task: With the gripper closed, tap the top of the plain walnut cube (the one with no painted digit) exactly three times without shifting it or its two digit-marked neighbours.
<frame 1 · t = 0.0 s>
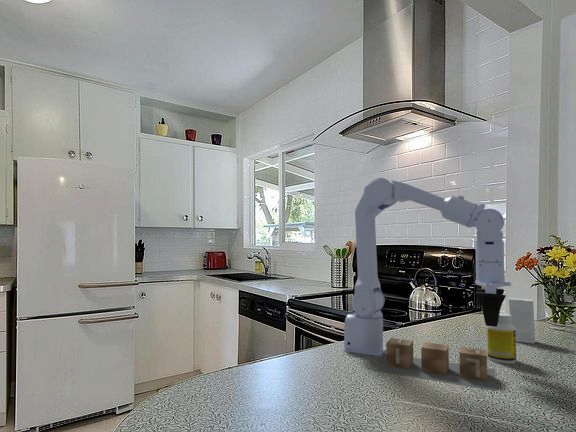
hand: (491, 322, 86), 10 cm above the countertop, fingers open, 7 cm apart
pill bottle: (501, 361, 91), on the countertop
skincare box: (522, 341, 110), on the countertop
digit block 7: (473, 375, 79), resting on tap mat
plain block: (435, 369, 83), resting on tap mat
digit block 1: (400, 364, 86), resting on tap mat
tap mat: (435, 371, 83), on the countertop
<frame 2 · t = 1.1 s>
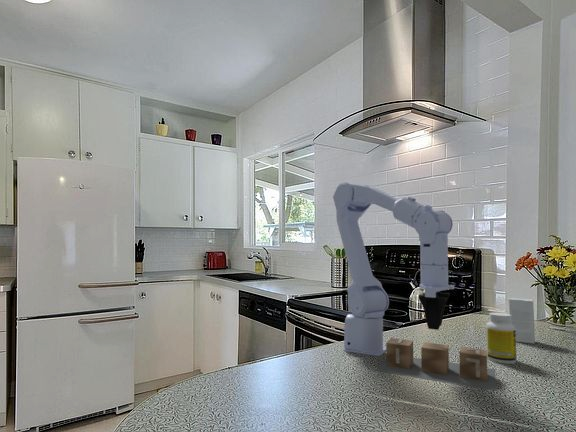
hand: (434, 327, 84), 9 cm above the countertop, fingers open, 4 cm apart
nothing on the countertop moved.
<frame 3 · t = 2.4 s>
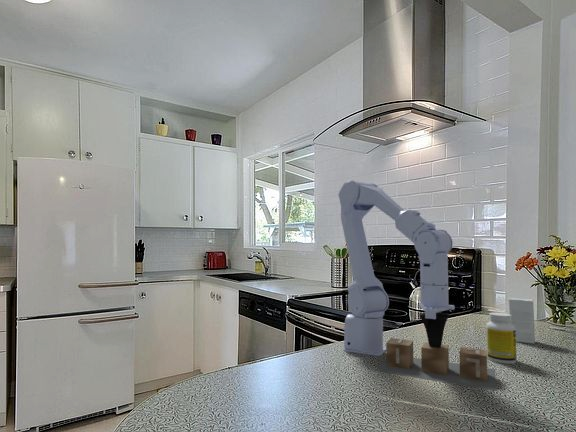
hand: (435, 347, 83), 5 cm above the countertop, fingers closed, pressing on plain block
plain block: (435, 369, 83), resting on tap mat, touching gripper
everything else where it was.
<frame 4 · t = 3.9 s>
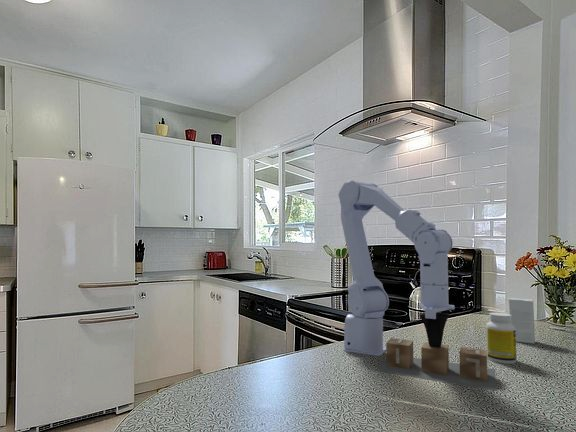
hand: (435, 347, 83), 5 cm above the countertop, fingers closed, pressing on plain block
plain block: (435, 369, 83), resting on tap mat, touching gripper
everything else where it was.
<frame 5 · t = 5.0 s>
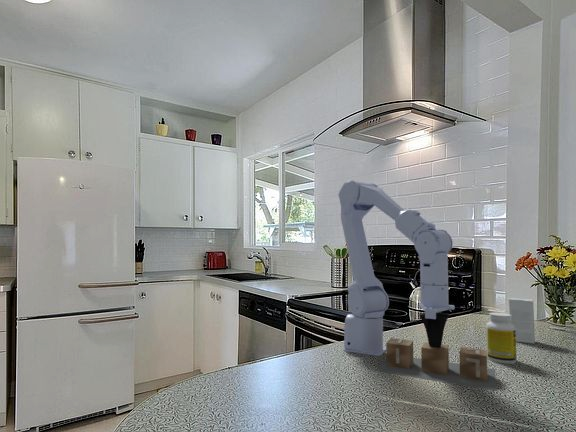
hand: (435, 347, 83), 5 cm above the countertop, fingers closed, pressing on plain block
plain block: (435, 369, 83), resting on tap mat, touching gripper
everything else where it was.
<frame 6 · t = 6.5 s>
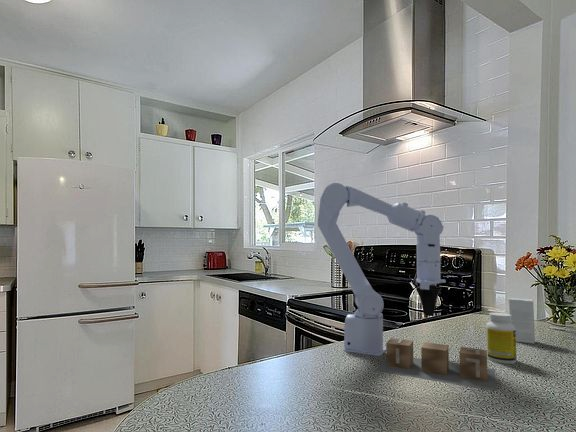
hand: (429, 315, 97), 9 cm above the countertop, fingers closed
plain block: (435, 369, 83), resting on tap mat
everything else where it was.
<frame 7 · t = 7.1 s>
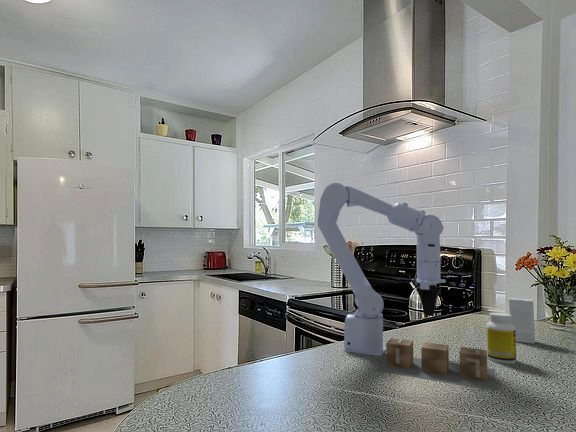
hand: (429, 315, 97), 9 cm above the countertop, fingers closed
nothing on the countertop moved.
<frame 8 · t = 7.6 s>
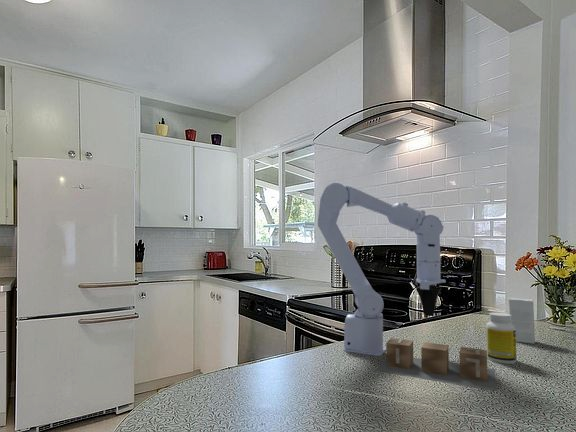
hand: (429, 315, 97), 9 cm above the countertop, fingers closed
nothing on the countertop moved.
at the end: plain block moved 0.0 cm from its start; digit block 1 moved 0.0 cm from its start; digit block 7 moved 0.0 cm from its start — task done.
